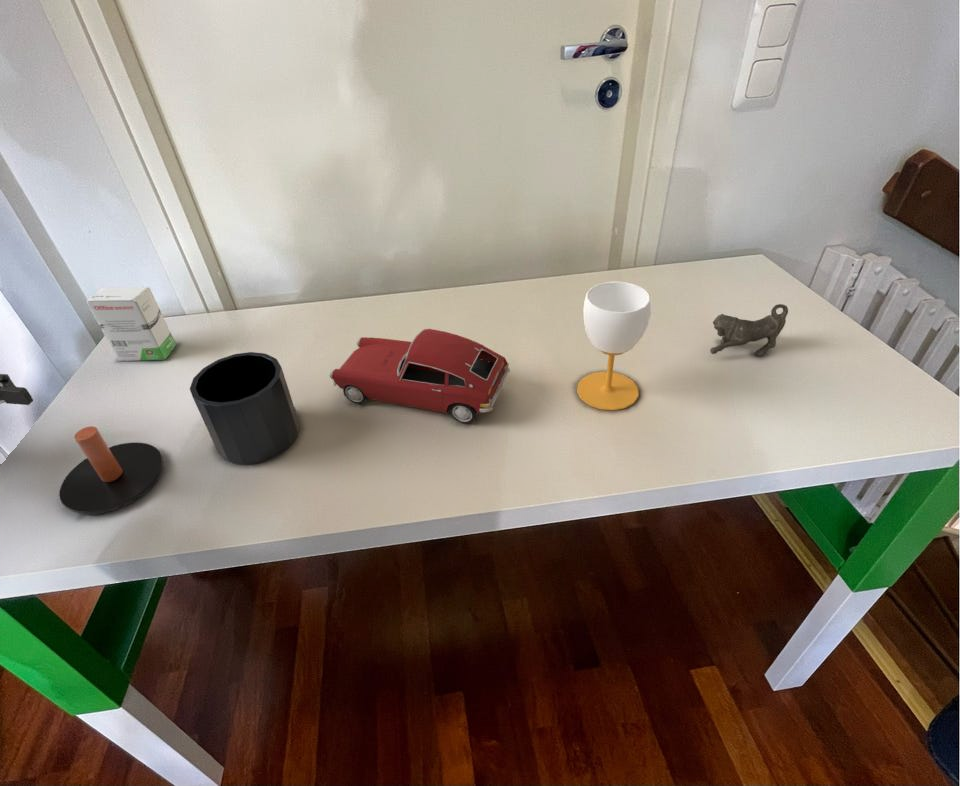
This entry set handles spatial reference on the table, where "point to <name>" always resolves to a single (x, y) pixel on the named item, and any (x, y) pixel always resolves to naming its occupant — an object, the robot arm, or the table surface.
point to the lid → (109, 474)
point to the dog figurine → (749, 330)
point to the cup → (613, 340)
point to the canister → (246, 407)
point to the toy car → (425, 373)
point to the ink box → (132, 323)
